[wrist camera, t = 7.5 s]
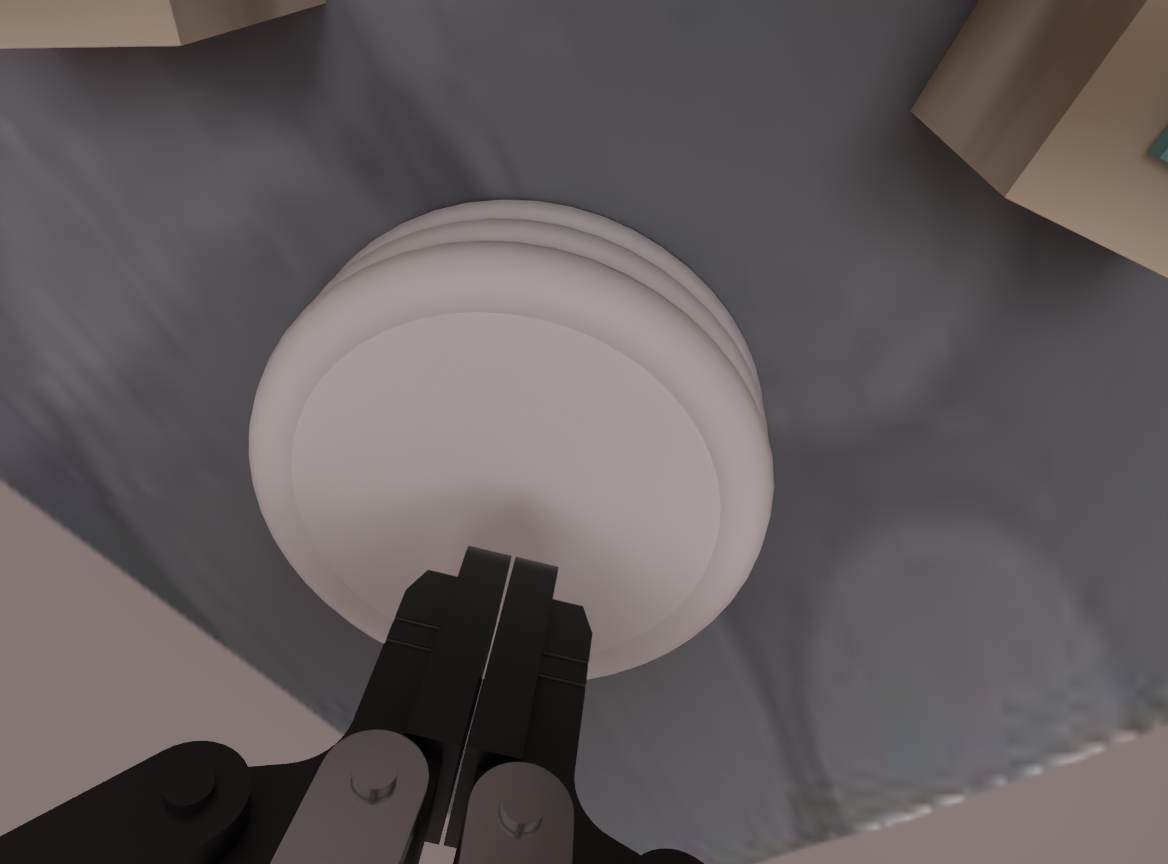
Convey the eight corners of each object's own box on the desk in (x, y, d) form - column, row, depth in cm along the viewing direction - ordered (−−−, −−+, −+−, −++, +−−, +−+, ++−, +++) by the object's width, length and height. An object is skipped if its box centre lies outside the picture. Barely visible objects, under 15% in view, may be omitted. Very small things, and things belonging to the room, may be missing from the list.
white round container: (434, 81, 15) (374, 126, 12) (861, 371, 17) (899, 469, 14) (244, 456, 20) (168, 552, 17) (594, 643, 22) (580, 758, 19)
